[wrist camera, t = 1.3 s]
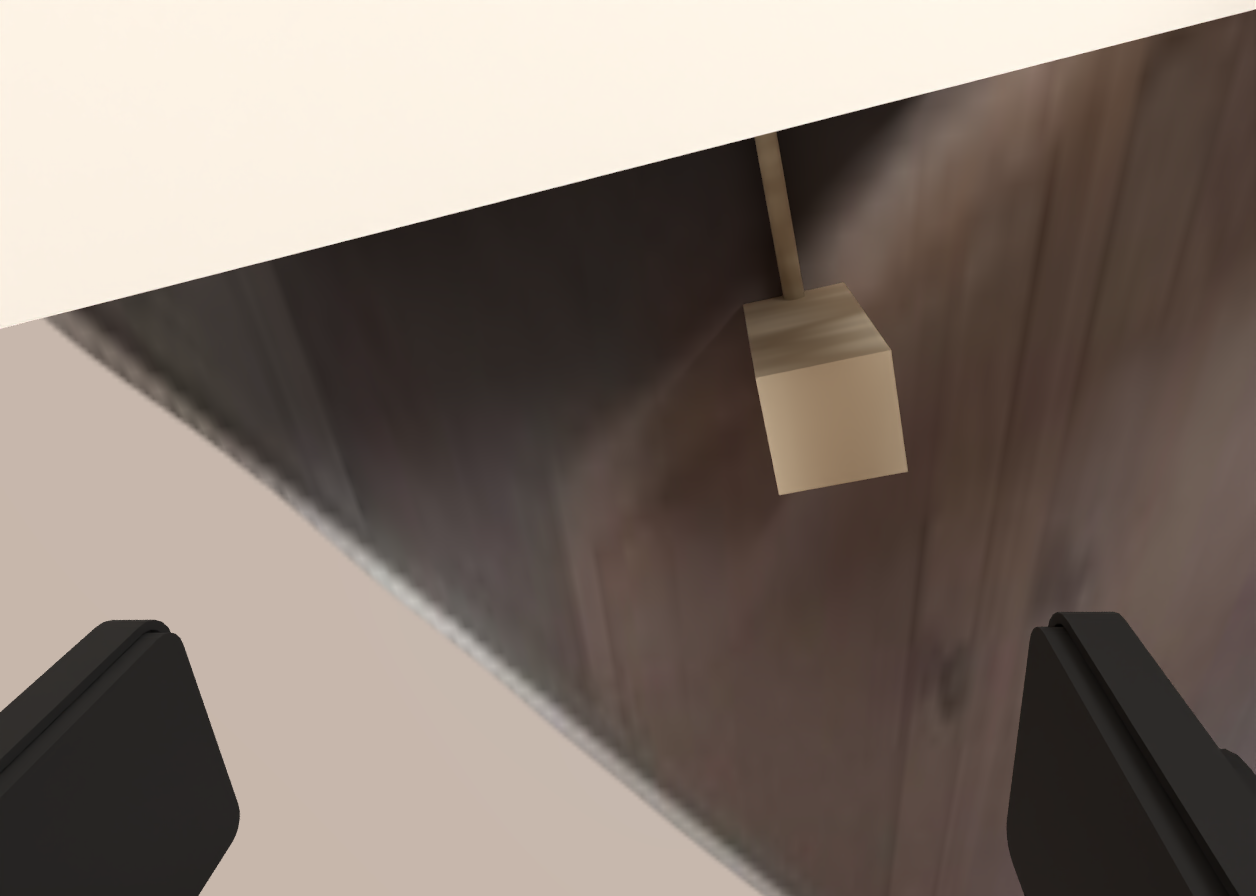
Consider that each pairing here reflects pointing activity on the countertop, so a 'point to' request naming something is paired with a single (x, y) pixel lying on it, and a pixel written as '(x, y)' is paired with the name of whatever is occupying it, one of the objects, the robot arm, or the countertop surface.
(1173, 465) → the countertop surface
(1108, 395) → the countertop surface
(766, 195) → the wooden block tool
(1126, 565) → the countertop surface
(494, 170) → the cubby shelf
